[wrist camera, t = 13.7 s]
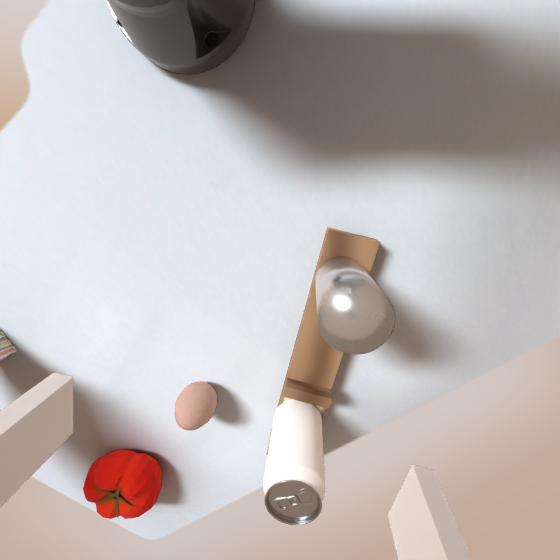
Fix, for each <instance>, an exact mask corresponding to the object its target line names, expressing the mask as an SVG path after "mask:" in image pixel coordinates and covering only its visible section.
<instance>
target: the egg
mask: <svg viewBox="0 0 560 560" xmlns="http://www.w3.org/2000/svg"><path fill="white" fill-rule="evenodd" d="M216 406H217V394H216V392H215V390H214V388H213V387H212V386H211V385H210V384H208V383H206V382H195V383H192V384H190V385H188V386H187V387H186V388H185V389H184V390H183V391H182V392H181V393H180V395H179V397H178V399H177V401H176V404H175V419H176V422H177V423H178V425H179V426H180V427H181V428H183V429H184V430H196V429H198V428H200V427H202V426H203V425H204V424H206V423H207V422H208V421H209V420H210V418H211V417H212V416H213V414H214V412H215V409H216Z"/></svg>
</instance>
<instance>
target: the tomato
mask: <svg viewBox="0 0 560 560" xmlns="http://www.w3.org/2000/svg"><path fill="white" fill-rule="evenodd" d="M161 486H162V475H161V468H160V466H159V464H158V462H157V461H156V460H155V459H154V458H153V457H152V456H150V455H147V454H144V453H136V452H134V451H130V450H115V451H113V452H111V453H109V454H107V455H104V456H102V457H100V458H98V459H97V460H96V461H95V462H94V463H93V464H92V466H91V468H90V469H89V471H88V474H87V477H86V480H85V484H84V488H83V490H84V494H85V498H86V499H87V501H90V502H94V503H95V504H96V507H97V512H98V513H99V514H100V515H101V516H102V517H105V518H110V519H111V518H114V517H118V516H120V515H121V516H122V517H124V518H125V519H127V518H135V517H139V516H141V515H142V514H143V513H145V512H146V511H148V510H149V509H151V508H152V506H153V505H154V504H155V502H156V501H157V498H158V495H159V492H160V489H161Z"/></svg>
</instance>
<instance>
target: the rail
mask: <svg viewBox="0 0 560 560" xmlns="http://www.w3.org/2000/svg"><path fill="white" fill-rule="evenodd" d="M379 245H380V242H379V241H378V240H376V239H373V238H368V237H364V236H360V235H356V234H352V233H348V232H344V231H340V230H336V229H332V228H328V227H327V231H326V234H325V238H324V241H323V245H322V249H321V252H320V256H319V259H318V263H317V267H316V270H315V274H314V277H313V281H312V285H311V288H310V292H309V295H308V299H307V303H306V306H305V310H304V313H303V317H302V321H301V324H300V328H299V331H298V335H297V339H296V342H295V346H294V349H293V353H292V357H291V360H290V364H289V367H288V371H287V375H286V378H285V382H284V385H283V389H282V393H281V396H280V400H279V403H278V406H279V405H281V404H282V403H283V402H285V401H288V400H291V399H294V400H297V401H301V402H305V403H309V404H312V405H314V406H315V407H316V408H317V409H318V411H319V412H320V414H321V418H322V416H323V413H324V410H325V408H327V409H329V408H330V405H331V402H332V390H331V389H332V386H333V383H334V380H335V377H336V374H337V371H338V368H339V365H340V362H341V359H342V356H343V352H340V351H338V350H336V349H334V348H332V347H331V346H330V345H329V344H328V343H327V342H326V341H325V340H324V339H323V337H322V335H321V333H320V331H319V327H318V317H317V302H316V287H315V277H316V273H317V271H318V269H319V267H320V266H321V265H322V264H323V263H324V262H325V261H327V260H328V259H330V258H333V257H336V256H347V257H350V258H353V259H355V260H356V261H358V262H359V263H360V264H361V265H362V267H363V268H364V269H365V270H366V272H367V273H368V274H369V275H370V272H371V269H372V266H373V263H374V260H375V257H376V254H377V251H378V248H379ZM277 408H278V407H277ZM271 431H272V429H271ZM270 437H271V434H270ZM269 443H270V440H269ZM268 449H269V446H268ZM267 455H268V452H267Z"/></svg>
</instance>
